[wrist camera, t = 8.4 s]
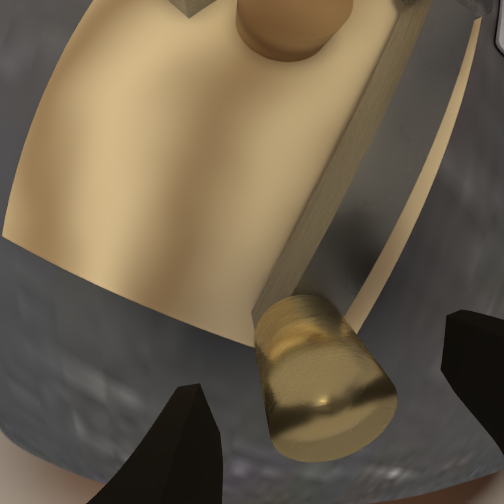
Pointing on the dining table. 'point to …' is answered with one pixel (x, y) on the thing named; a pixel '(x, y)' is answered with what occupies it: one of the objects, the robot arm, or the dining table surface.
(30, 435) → the dining table surface
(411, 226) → the board
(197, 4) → the gray block
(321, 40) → the brown cylinder
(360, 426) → the press lever
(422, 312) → the dining table surface
